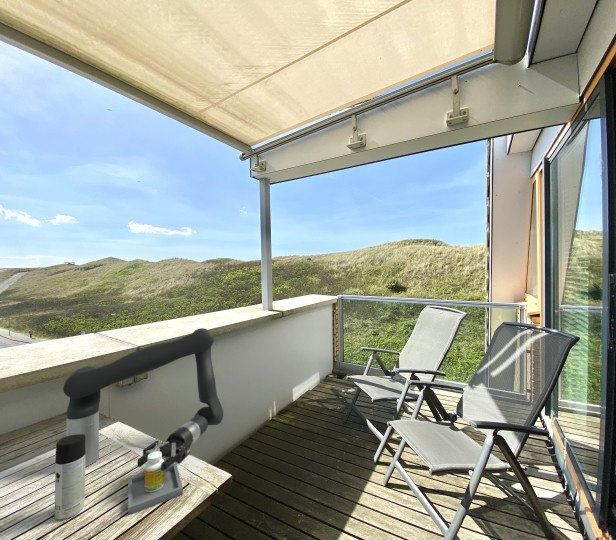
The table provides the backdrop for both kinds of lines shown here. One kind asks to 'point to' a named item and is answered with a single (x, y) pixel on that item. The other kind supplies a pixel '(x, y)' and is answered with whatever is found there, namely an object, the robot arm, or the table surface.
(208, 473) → the table surface
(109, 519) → the table surface
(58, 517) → the spray can
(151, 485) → the supplement bottle
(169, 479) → the tray
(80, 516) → the table surface
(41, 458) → the table surface
